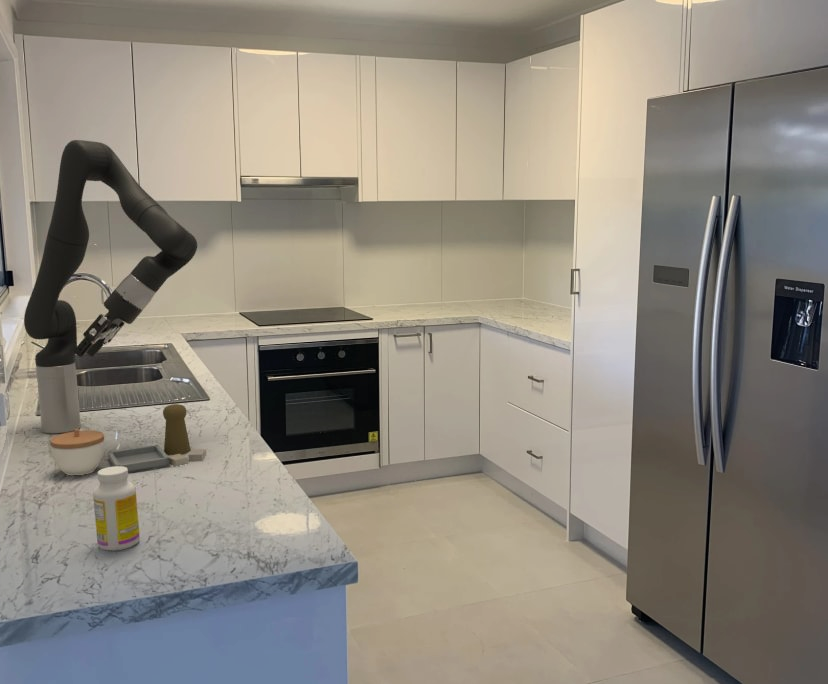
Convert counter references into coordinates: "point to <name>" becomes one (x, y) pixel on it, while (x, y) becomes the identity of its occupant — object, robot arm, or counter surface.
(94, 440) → the lidded jar
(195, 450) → the beige rectangular block
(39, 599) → the counter surface
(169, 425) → the pepper mill
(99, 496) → the supplement bottle
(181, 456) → the tan block
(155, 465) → the parts tray
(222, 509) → the counter surface
